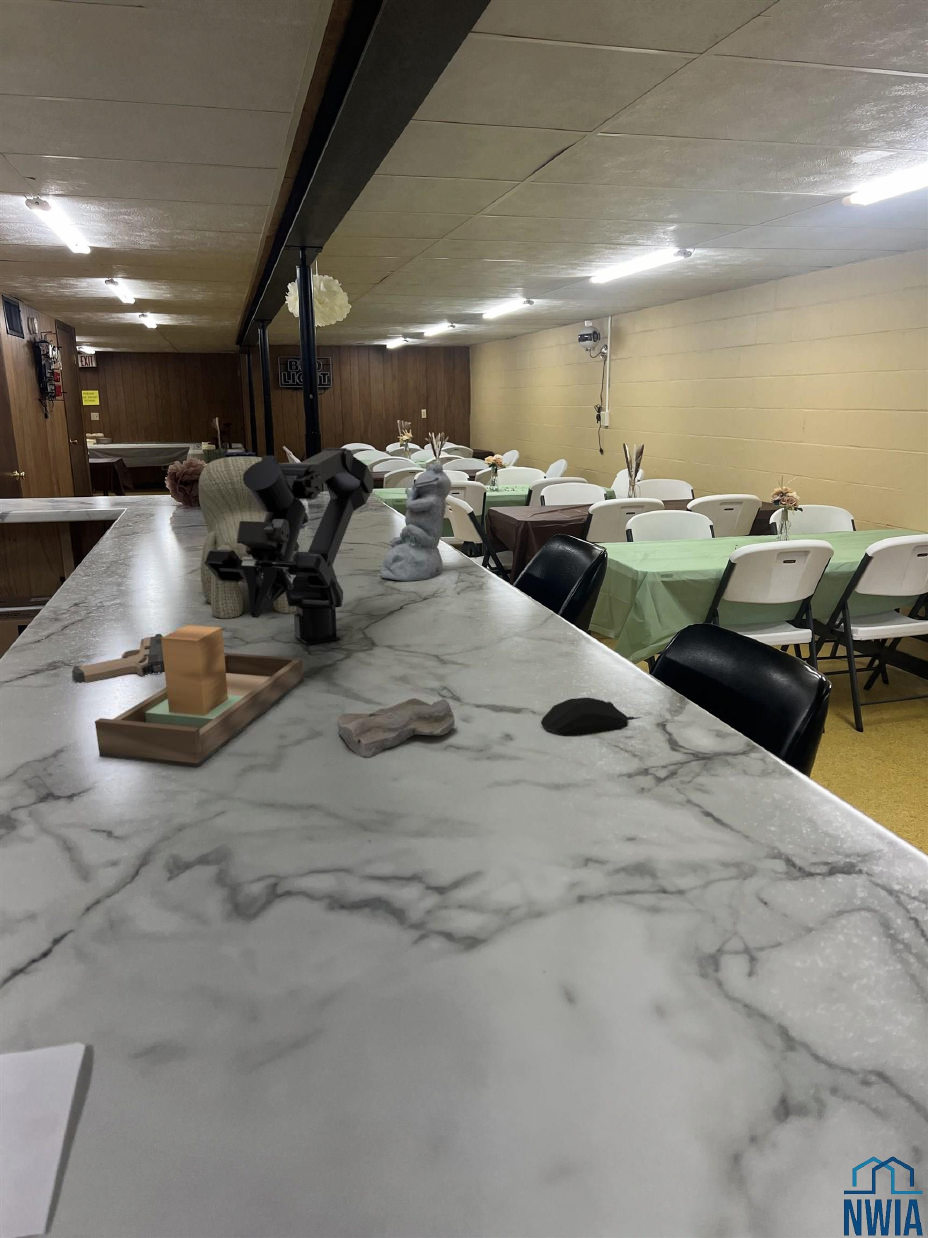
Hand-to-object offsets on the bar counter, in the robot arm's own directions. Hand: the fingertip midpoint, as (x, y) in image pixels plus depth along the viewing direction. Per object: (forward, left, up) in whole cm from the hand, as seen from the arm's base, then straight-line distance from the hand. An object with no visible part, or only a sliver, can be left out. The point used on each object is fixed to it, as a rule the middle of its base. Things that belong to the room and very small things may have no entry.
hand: (253, 616), depth 115 cm
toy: (-15, -49, -10) cm, 53 cm away
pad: (+11, +11, -10) cm, 19 cm away
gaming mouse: (-33, +39, -11) cm, 52 cm away
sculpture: (-58, -55, -11) cm, 81 cm away
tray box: (+9, +9, -10) cm, 16 cm away
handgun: (+15, -22, -11) cm, 29 cm away
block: (+12, +12, -8) cm, 18 cm away
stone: (-9, +28, -11) cm, 32 cm away
